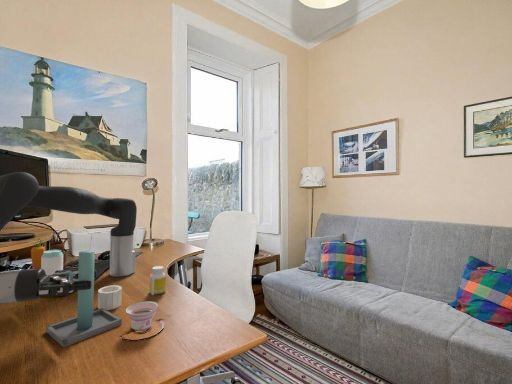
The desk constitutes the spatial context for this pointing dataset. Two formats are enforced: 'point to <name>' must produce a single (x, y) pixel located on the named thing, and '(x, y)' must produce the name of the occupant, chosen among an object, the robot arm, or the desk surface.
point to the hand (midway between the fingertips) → (94, 279)
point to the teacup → (142, 315)
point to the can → (52, 261)
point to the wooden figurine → (59, 248)
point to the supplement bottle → (157, 281)
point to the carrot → (37, 255)
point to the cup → (109, 297)
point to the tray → (70, 334)
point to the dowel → (85, 295)
